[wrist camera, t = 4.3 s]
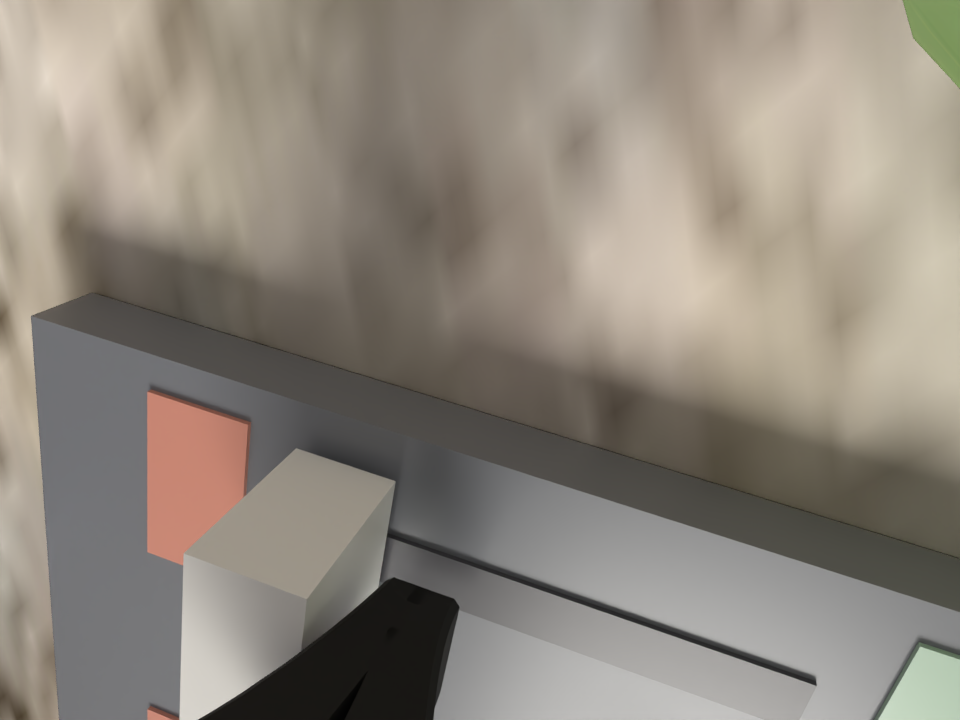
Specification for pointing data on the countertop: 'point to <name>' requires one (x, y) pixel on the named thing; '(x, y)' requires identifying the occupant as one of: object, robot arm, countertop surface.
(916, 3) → the edible corn
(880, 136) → the countertop surface
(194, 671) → the block
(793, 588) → the breaker panel
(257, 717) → the robot arm
